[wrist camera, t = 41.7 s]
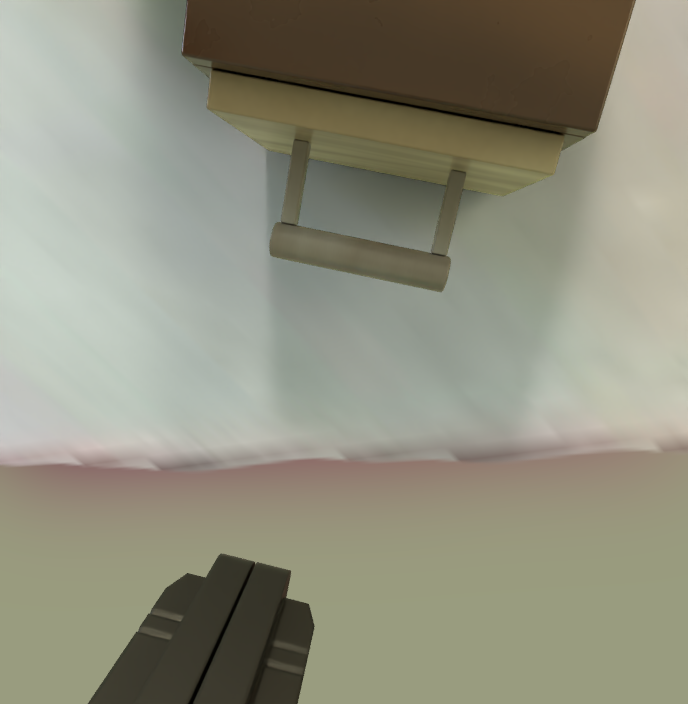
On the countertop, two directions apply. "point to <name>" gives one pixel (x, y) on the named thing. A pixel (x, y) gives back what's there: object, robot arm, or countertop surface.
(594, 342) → the countertop surface
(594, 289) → the countertop surface
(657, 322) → the countertop surface
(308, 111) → the drawer
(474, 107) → the cabinet
